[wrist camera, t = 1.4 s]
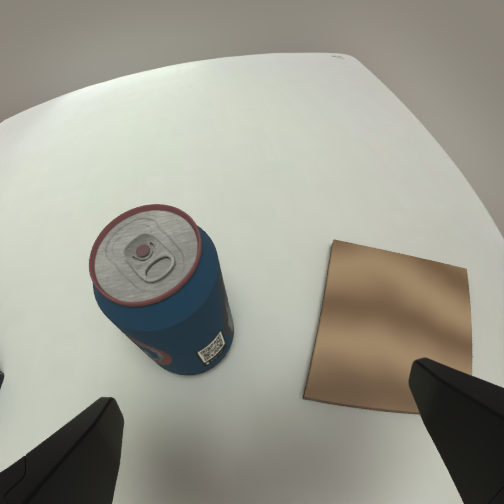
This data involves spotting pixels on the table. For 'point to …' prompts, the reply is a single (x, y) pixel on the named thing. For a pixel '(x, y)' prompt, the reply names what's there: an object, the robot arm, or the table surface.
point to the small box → (1, 377)
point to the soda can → (163, 287)
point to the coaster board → (386, 327)
